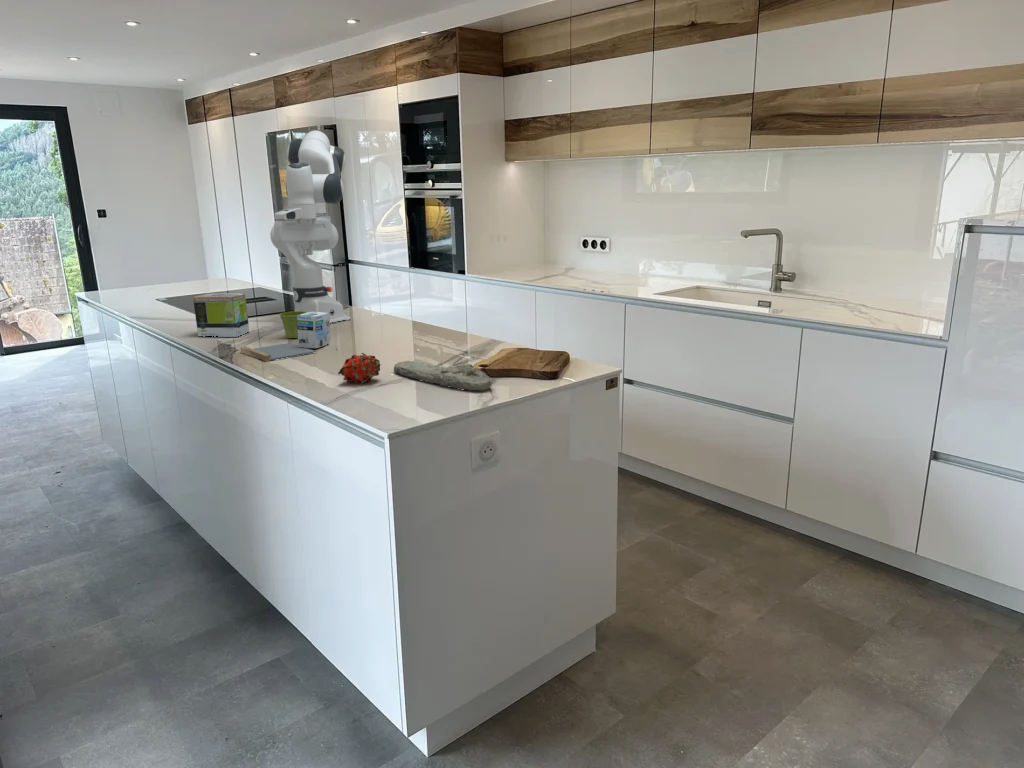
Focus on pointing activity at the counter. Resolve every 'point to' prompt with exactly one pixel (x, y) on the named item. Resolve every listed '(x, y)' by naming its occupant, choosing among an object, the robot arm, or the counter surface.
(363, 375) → the dragon fruit
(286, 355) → the mat
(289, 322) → the plant pot
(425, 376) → the elongated rock
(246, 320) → the tea box
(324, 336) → the light bulb box
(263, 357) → the strip
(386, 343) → the counter surface
